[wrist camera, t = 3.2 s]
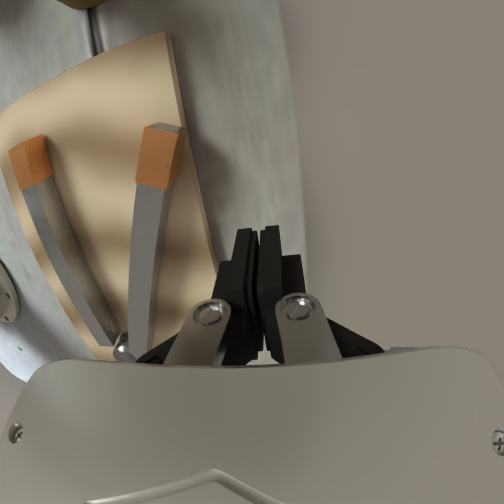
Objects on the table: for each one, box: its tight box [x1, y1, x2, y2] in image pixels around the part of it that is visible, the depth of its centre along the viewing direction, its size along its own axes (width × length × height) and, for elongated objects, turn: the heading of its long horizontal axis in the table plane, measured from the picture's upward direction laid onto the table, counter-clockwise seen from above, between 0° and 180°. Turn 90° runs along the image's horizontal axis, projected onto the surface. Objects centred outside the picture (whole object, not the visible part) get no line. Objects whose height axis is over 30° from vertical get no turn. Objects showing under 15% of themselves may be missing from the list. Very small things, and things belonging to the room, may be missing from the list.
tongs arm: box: [113, 122, 188, 362], centre depth 18 cm, size 20×3×2 cm, turn 163°
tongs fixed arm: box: [8, 134, 121, 347], centre depth 18 cm, size 18×2×2 cm, turn 8°
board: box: [0, 30, 219, 361], centre depth 19 cm, size 26×16×1 cm, turn 8°
